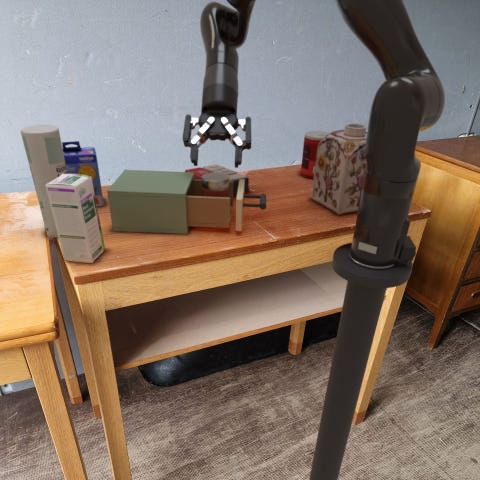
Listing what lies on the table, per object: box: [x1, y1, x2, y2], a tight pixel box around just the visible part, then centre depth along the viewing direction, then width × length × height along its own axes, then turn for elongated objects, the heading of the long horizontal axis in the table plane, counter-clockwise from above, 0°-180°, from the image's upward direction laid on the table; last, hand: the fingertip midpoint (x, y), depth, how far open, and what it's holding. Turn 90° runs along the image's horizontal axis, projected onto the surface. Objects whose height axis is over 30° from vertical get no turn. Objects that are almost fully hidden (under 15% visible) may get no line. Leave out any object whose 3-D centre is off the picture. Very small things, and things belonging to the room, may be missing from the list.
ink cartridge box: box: [61, 140, 105, 208], centre depth 100 cm, size 10×6×14 cm, turn 108°
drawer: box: [186, 179, 267, 232], centre depth 95 cm, size 19×12×7 cm, turn 87°
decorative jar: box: [311, 122, 368, 216], centre depth 103 cm, size 12×12×18 cm
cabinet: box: [106, 169, 195, 235], centre depth 95 cm, size 16×14×9 cm
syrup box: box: [45, 174, 106, 264], centre depth 79 cm, size 6×6×14 cm
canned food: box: [300, 130, 331, 180], centre depth 123 cm, size 8×8×11 cm
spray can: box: [20, 124, 67, 239], centre depth 86 cm, size 6×6×20 cm
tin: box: [202, 172, 230, 197], centre depth 94 cm, size 6×6×8 cm
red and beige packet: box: [184, 164, 250, 196], centre depth 114 cm, size 11×4×15 cm
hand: (215, 165), depth 91 cm, fingers open, 8 cm apart
